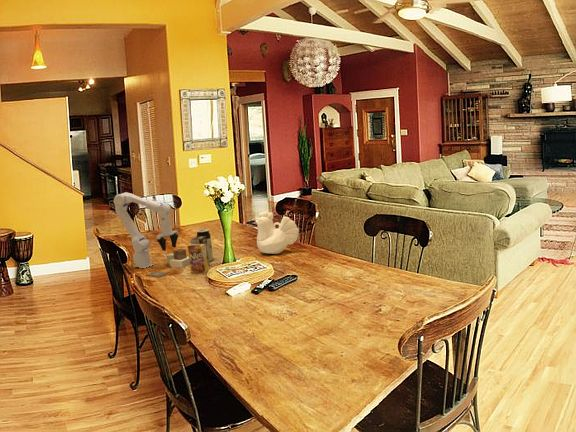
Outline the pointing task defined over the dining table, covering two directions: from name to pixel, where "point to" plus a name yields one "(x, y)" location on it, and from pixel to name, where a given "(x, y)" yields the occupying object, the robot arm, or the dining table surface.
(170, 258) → the sage block
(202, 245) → the candy box
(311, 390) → the dining table surface
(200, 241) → the coffee box
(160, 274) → the card
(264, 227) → the decorative rooster
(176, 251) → the walnut block
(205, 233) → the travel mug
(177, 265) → the base block
